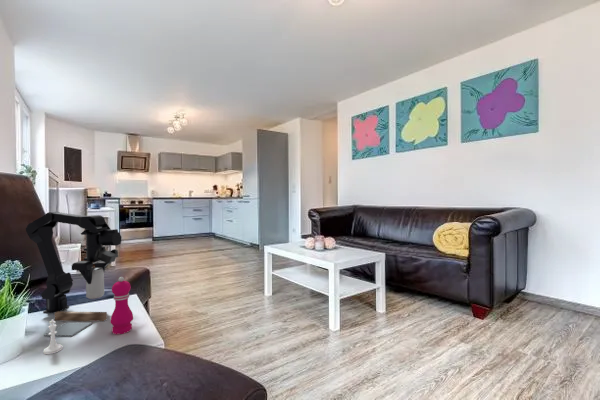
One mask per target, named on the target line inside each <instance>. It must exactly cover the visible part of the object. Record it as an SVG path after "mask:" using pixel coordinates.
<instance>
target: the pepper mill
mask: <svg viewBox="0 0 600 400" xmlns="http://www.w3.org/2000/svg"><path fill="white" fill-rule="evenodd" d="M117 280H118V281H116V282H114V284H113V285H112V286H111V293H112V294H113V300H114V301H115V304H114V309H113V312H112V314H111V317H110V325H112V327H111V333H112V334H113V335H124V334H126V333H128V332H130V331H131V330H132V327H133V325H132V321H133V320H134V314H133V312H132V310H131V308H130V306H129V301H128V300H129V298H130V291H131V283H130V282H129V281H128V280H125V278H124V277H123V276H120V277H119V278H118V279H117Z"/></svg>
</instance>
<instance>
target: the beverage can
mask: <svg viewBox="0 0 600 400" xmlns="http://www.w3.org/2000/svg"><path fill="white" fill-rule="evenodd" d="M94 268H95V267H94ZM102 269H103V268H95V269H94V270H93V271H92V281H91V284H88V283H87V281H86V280H85V297H86V298H88V299H89V300H94V299H95V300H96V299H101V298H102V297H103V296H104V295H105V275H104V274H105V271H103V270H102Z"/></svg>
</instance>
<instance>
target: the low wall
mask: <svg viewBox="0 0 600 400" xmlns="http://www.w3.org/2000/svg"><path fill="white" fill-rule="evenodd" d="M106 319H108V312H107V311H58V312H56V313H54V321H61V322H62V321H63V322H64V321H65V322H66V321H67V322H68V321H69V322H71V321H72V322H105V321H107V320H106ZM104 320H105V321H104Z"/></svg>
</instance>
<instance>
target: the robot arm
mask: <svg viewBox="0 0 600 400" xmlns="http://www.w3.org/2000/svg"><path fill="white" fill-rule="evenodd" d="M59 223H61V224H66V225H67V224H68V225H74V226H78V227H79V228H81V229H84V230H83V231H82V232H81V233H80V235H81V236H82V235H84V236H85V244H86V246H85V248H83V252H85V253H86V257H84V258H83V260H79V261H76V262H73V263H72V264H71V271H77V272H79V273H80V275H81V276H82V277H83V278H84V280H85V282H86V281H87V283H88V284H91V281H92V271H93V270H94V269H95V268H103V269H102V270H103V271H104V272H105V270H106V268H107V266H109V265H110V264H111V263H114V262H115V260H116V259H117V258H118V257H119V252H118V249H116V248H114V249H112V250H106V249H107V248H106V246H115V247H116V246H119V245H120V244H121V242H122V235H121V233H120V232H119V229H116V228H114V229H111V227H110V226H109V224H107V221H106V220H105V218H104V216H103V215H99V214H98V215H97V214H96V215H94V214H91V215H79V214H72V213H66V212H59V211H50V212H47V213H45V214H44V215H42V216H40V217H39V218H36V219H35V220H33V221H32V222H30V223H28V224H27V226H26V227H25V232H26V234H27V236H28V238H29V239H30V240H31V241H33V242H34V243H35V244H36V245H37V248H38V252H39V254H40V256H41V259H42V263H43V266H44V268H45V270H46V273H47V275H48V276H47V278H46V281H45V284H46V288H45V289H44V290H43V292H41V294H40V297H41V299H42V300H45V304H46V305H45V308H46V310H43V311H42V313H49V314H50V313H51V314H55V313H56V312H58V311H60V312H63V311H65V310H66V309H68V308H70V305H68V298H67V294H69V293H70V291H71V289H72V286H73V284H74V283H73V281H74V280H73V277H72V276H71V272H65V271H64V270H63V268H62V266H61V263H60V260H59V257H58V255H57V251H56V249H55V247H54V244H53V240H52V238H53V236H54V228H56V226H57V225H58V224H59Z"/></svg>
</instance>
